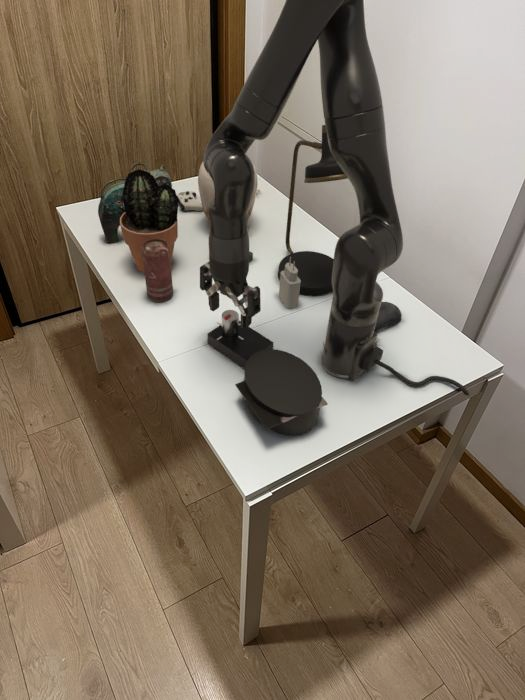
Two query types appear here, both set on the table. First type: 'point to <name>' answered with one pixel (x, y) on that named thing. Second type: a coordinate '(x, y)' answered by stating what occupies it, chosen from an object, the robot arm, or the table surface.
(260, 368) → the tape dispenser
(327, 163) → the lamp
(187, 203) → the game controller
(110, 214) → the ceramic cat
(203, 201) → the vase
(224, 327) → the knob
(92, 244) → the table surface
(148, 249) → the can
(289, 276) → the power adapter
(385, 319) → the computer mouse
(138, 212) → the potted plant
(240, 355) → the panel
